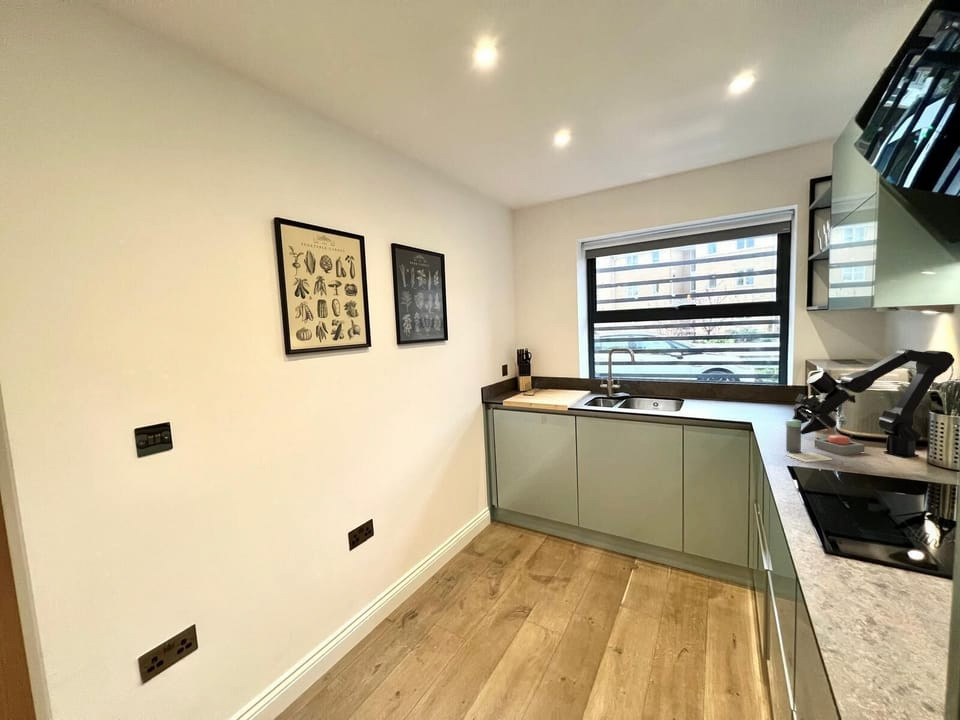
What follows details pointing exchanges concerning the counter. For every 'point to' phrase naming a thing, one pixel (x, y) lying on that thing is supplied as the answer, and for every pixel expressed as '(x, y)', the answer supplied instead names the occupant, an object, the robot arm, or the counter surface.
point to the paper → (809, 457)
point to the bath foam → (826, 432)
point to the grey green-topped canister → (793, 435)
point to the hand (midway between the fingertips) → (794, 430)
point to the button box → (839, 447)
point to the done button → (839, 440)
